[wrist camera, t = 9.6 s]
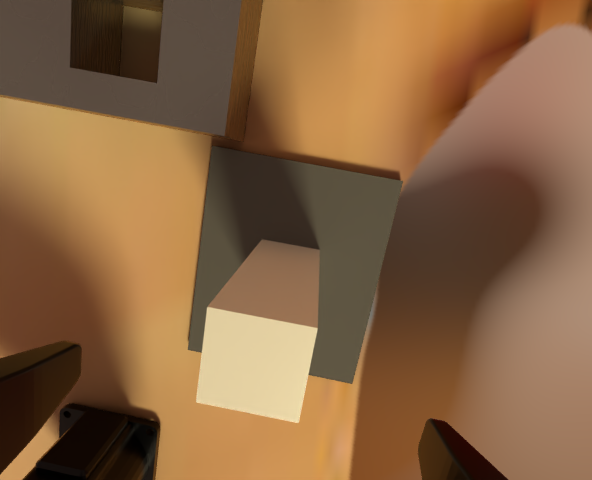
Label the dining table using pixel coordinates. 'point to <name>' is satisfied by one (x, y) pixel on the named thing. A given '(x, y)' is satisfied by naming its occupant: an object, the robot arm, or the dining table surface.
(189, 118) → the grey block with holes
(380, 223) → the mat
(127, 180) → the dining table surface
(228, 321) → the peg
